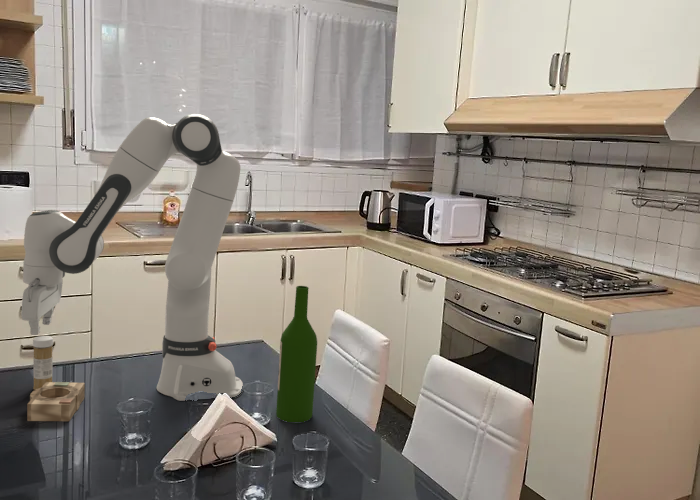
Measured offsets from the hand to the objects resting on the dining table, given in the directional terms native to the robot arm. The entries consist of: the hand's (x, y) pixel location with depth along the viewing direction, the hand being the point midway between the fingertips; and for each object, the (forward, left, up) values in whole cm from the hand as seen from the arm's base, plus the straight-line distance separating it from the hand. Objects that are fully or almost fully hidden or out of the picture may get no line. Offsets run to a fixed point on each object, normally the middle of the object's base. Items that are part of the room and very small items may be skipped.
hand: (41, 329), depth 164 cm
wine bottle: (-63, +16, -16) cm, 67 cm away
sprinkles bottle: (0, 0, -16) cm, 16 cm away
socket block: (-7, +13, -16) cm, 22 cm away
